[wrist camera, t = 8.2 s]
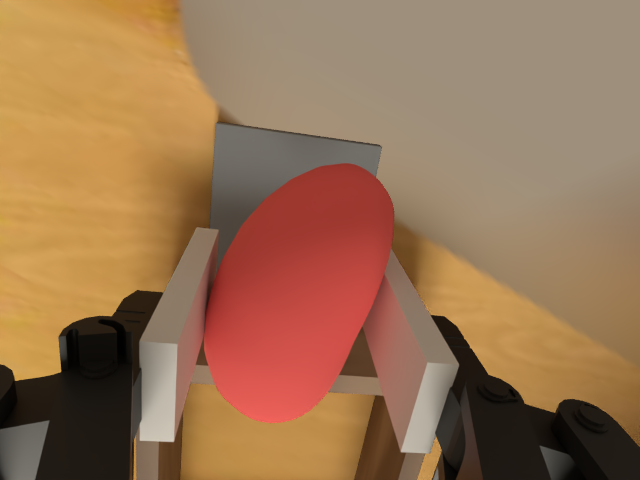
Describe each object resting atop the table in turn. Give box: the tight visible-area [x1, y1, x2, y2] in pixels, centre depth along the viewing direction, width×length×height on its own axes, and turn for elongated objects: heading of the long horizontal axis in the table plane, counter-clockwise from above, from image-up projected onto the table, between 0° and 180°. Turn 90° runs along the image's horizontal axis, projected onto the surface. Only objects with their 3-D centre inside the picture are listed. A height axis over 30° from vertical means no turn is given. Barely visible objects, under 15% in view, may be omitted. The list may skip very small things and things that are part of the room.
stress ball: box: [204, 163, 394, 423], centre depth 14 cm, size 5×9×6 cm
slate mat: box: [209, 122, 382, 274], centre depth 22 cm, size 8×8×1 cm
